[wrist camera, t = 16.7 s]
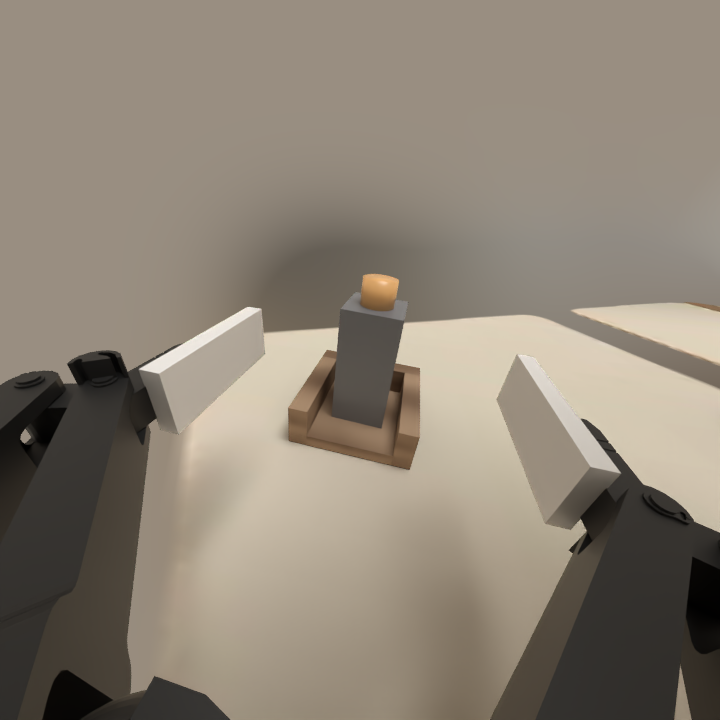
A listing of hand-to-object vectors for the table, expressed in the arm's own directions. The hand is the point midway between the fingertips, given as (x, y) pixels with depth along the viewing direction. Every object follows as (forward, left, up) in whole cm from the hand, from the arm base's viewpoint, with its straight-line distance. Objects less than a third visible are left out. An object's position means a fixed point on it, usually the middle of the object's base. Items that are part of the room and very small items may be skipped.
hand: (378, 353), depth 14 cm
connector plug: (+4, -6, -10) cm, 12 cm away
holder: (+4, -6, -11) cm, 13 cm away
